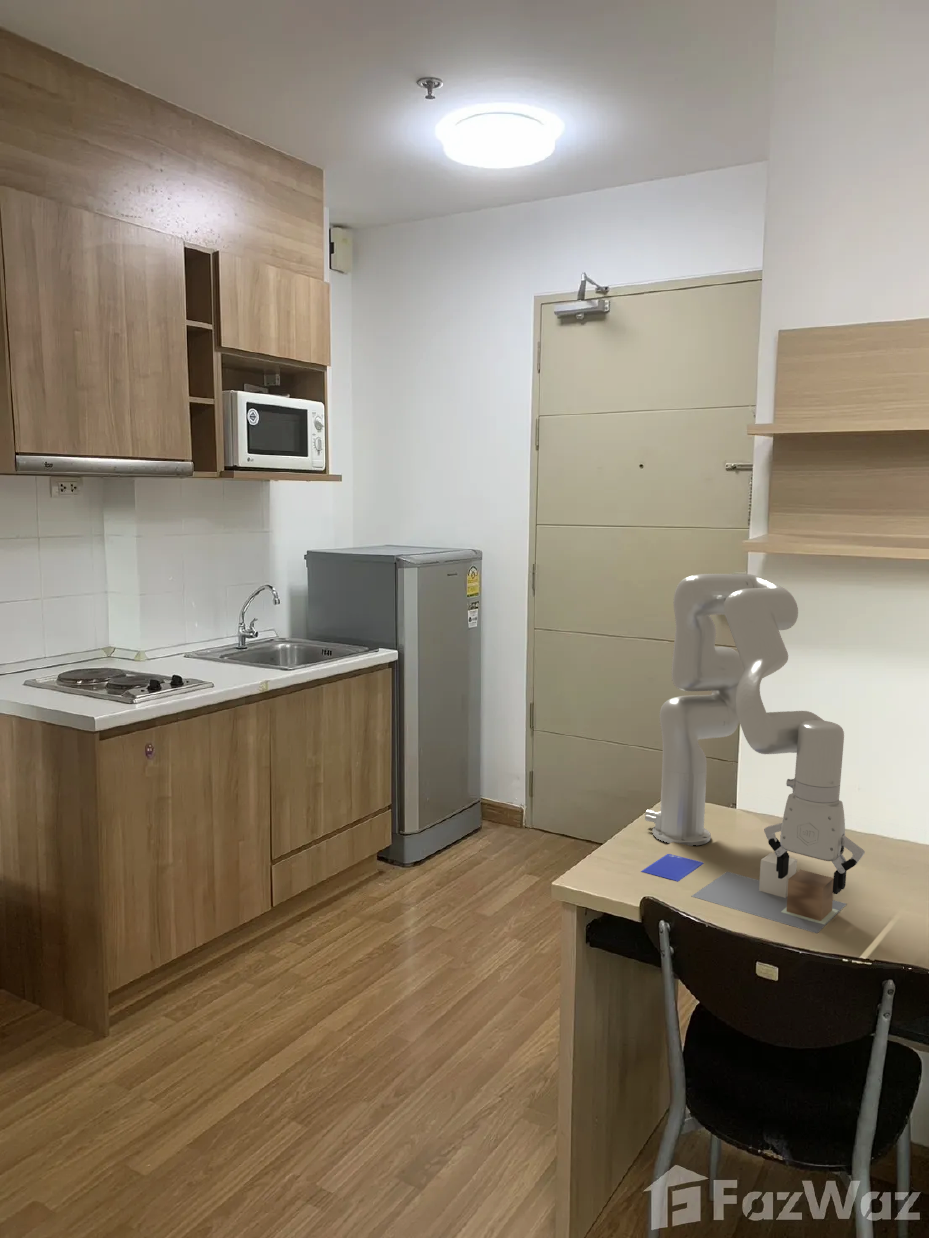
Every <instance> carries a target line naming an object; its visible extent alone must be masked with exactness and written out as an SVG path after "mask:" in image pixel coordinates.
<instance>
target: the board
mask: <svg viewBox="0 0 929 1238" xmlns="http://www.w3.org/2000/svg"><path fill="white" fill-rule="evenodd" d="M759 883H760V879H756V878H752V877H748V876H746V875H745V876H744V875H742V874H738V873H734V872H731V871H726V872H724V873H722V874H721V875H720V876H718V877H717V878H715V879H714V880H713V881H711V882H709V884H707V885H706V886H704V887H702V888H701V889H699V890H697V892H695V893H694V894H692V895H691V898H695V899H699V900H702V901H706V902H708V903H713V904H716V905H719V906H723V907H726V908H730V909H733V910H736V911H740V912H743V913H746V914H750V915H753V916H757V917H760V918H763V919H767V920H771V921H773V922H777V923H780V924H784V925H788V926H790V927H792V928H793V927H794V928H797V929H800V930H804V931H807V932H811V933H814V934H818V933H819V932H820V931H821V930H822V929H824V927H825V926H827V924H829V922H831V921H832V920H833V919H834V917H835V916H837V915H838V913H840V912H841V911H842V910H843V909H844V908H845V906H847V905H848V903H845V902H842V901H838V900H834V899H833V903H832V911H831V912H830V913H829V914H828V915H827V916H826V917H825V918H823V919H822V920H821V921H818V920H815V919H811V918H808V917H804V916H801V915H797V914H794V913H790V912H787V897H786V898H784V897H780V896H777V895H773V894H769V893H766V892H762V891H759Z"/></svg>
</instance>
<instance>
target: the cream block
mask: <svg viewBox="0 0 929 1238" xmlns="http://www.w3.org/2000/svg"><path fill="white" fill-rule="evenodd" d="M797 863H798V859H797V858H794V857H790V856H789V866H788V874H787V875H786V876H785V877H784V878H783V879H779V878H778V872H777V871H776V865H777V856H776V855H775V852H774V853H773V852H769V853H768V854H767V855H766V856H765V857H762V858H761V859H760V868H759V880H760V883H759V891H762V892H766V893H769V894H773V895H777V896H780V897H784V898H786V897H787V894H788V879H789V878H790V877H792V876H793V875H794V874H795V873H797V868H798V865H797Z"/></svg>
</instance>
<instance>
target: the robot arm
mask: <svg viewBox="0 0 929 1238" xmlns="http://www.w3.org/2000/svg"><path fill="white" fill-rule="evenodd" d="M673 612H674V617H675V618H674V619H675V620H674V621H675V632H674V642H673V651H672V652H673V653H672V661H671V662H672V663H671V681H672V684H673V685H674V687H675V688H676V689H678V690H680V691H684V692H710V691H711V694H694V695H680V696H676V697H670V698H669V699H667V700H666V701H665V702H663V704H662V705H661V707H660V711H659V724H660V730H661V731H660V732H661V737H662V738H661V740H662V760H661V761H662V763H661V764H662V765H661V766H662V767H661V784H660V785H661V789H660V790H661V791H660V811H655V810H652V809H647V810H646V811H645V813H644V815H645V818H644V820H645V821H647V822H652V823H653V824H655V825H654V826H653V828H652V832H651V833H653V834H652V836H653V835H654V836H655V837H656V838H655V837H654V836H653V837H654V838H655V839H657V840H658V839H659V840H658V841H660V840H661V841H660V842H663V841H664V842H663V843H666V842H667V844H672V843H677V844H680V845H681V844H682V845H684V846H685V845H686V846H689V847H693V845H696V846H701V845H705V844H707V843H709V842H710V841H711V837H712V836H711V832H710V831H709V830H708V829H707V828H705V813H706V812H705V810H706V794H707V793H706V791H707V788H706V787H707V768H708V767H707V766H708V762H707V761H708V760H707V757H706V756H707V755H706V754H705V752H704V750H703V748H702V747H701V746H700V744H699V740H704V739H705V740H706V739H716V738H718V739H719V738H725V737H729V736H731V735H733V734H735V732H736V730H738V726H739V725H740V727H741V731H742V733H743V735H744V737H745V740H746V741H747V744H748V746H749V747H750V748H751V749H752V750H753V751H754V752H756V753H758V754H761V755H778V754H790V753H791V754H795V753H796V759H795V770H794V771H795V772H794V777H793V778H787V780H786V783H785V785H786V786H787V787H790V788H791V789H792V792H791V793H790V794H788V797H787V798H786V799H787V800H786V803H785V806H784V807H785V808H784V812H783V816H782V817H783V818H782V822H779V823H775V824H773V825H768V826H766V827H764V831H763V832H764V834H765V837H766V839H767V843H768V845H769V846H770V847H771V849H772V850H773V852H774V854H775V855H776V856H777V865H776V871H777V872H778V878H779V879H783V878H784V877H785V876H786V875H787V874H788V866H789V857H790V854H789V853H788V852H790V853H794V854H798V855H801V856H805V857H809V858H812V859H813V858H814V859H817V860H821V861H825V862H832V864H833V867H835V869H836V870H835V871H834V873H833V878H834V879H833V895H838V894H839V893H840V892H841V891H842V890H844V889H845V887H846V880H847V871H848V870H850V869H852V868H853V867H855V866H856V865H857V864H858V863H859V862H860V860H861V859H862V858H863V857H864V855H865V852H866V851H865V850H864V849H863V848H861V847H860V846H859V845H858V844H856V843H855V842H854V841H852V840H851V839H850V838H849V837H847V836H846V819H845V809H844V804H843V801H842V800H840V793H841V792H840V791H841V780H842V767H843V757H844V756H843V753H844V740H845V731H844V729H843V727H842V726H841V725H839V724H838V723H835V722H832V721H827V720H825V719H823V718H821V717H820V716H819V715H818V714H815V713H814V712H812V711H808V710H795V711H794V710H791V711H773V712H771V711H770V712H767V711H766V708H765V706H764V703H763V700H762V697H761V683H762V680H763V679H765V678H766V677H769V675H772V674H774V673H776V672H777V671H779V670H780V669H782V668H783V667H784V666H785V665H786V664H787V663H788V661H789V653H788V652H789V651H788V650H787V648H786V645H785V642H784V640H783V637H782V635H781V633H780V631H787V630H789V629H791V628H792V627H793V626H795V624H796V622H797V620H798V617H799V606H798V604H797V601H796V599H795V598H794V596H793V595H792V593H791V592H789V591H788V590H787V589H786V588H784V586H780V585H778V584H776V583H774V582H772V581H769V580H767V579H765V578H762V577H761V576H758V575H754V574H748V573H698V574H693V575H689V576H687V577H684V578H682V580H680V581H679V582H678V584H677V586H676V588H675V591H674V594H673ZM711 615H718V616H719V615H723V616H724V617H725V619H726V622H727V625H728V628H729V630H730V634H731V637H732V640H733V642H734V644H735V647H736V650H735V649H734V648H732V647H729V646H716V639H717V629H716V624H715V622H714V621H713V618H712V616H711ZM778 832H780V834H779V835H780V840H779V839H778V838H777V835H776V833H778ZM845 849H846V850H848V851H849V852H850V853H851V854H852V855H851V857H850V858H849V859H848V860H847V859H846V858H845V856H844V852H845Z"/></svg>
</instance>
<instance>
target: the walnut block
mask: <svg viewBox="0 0 929 1238" xmlns="http://www.w3.org/2000/svg"><path fill="white" fill-rule="evenodd" d="M833 879H834V877H831V876H828V875H824V874H820V873H817V872H812V871H808V870H804V869H799V870H797V871H796V873H795V874H794V875H793V876H792V877H790V878H789V879H788V894H787V912H790V913H794V914H797V915H801V916H804V917H808V918H811V919H815V920H818V921H821V920H822V919H823V918H825V917H826V916H827V915H828V914H829V913H830V912H831V911H832V903H833V900H834V893H833Z"/></svg>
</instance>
